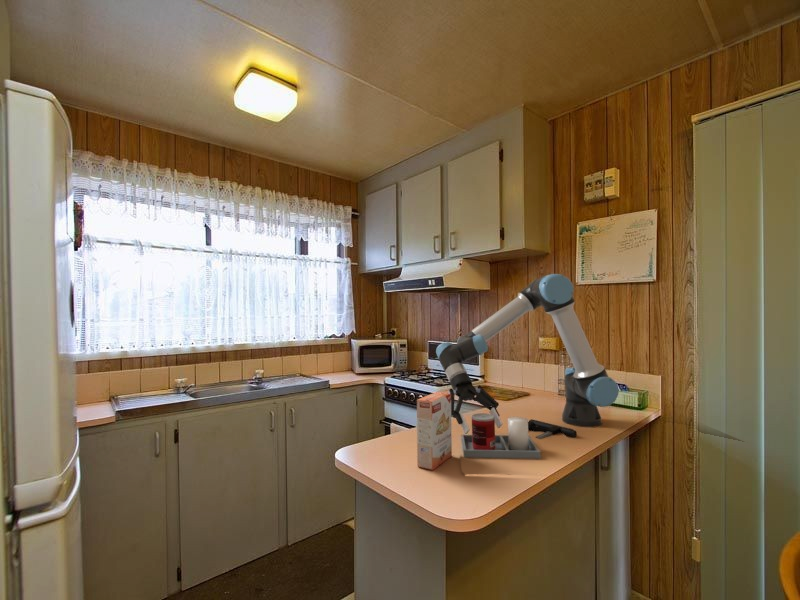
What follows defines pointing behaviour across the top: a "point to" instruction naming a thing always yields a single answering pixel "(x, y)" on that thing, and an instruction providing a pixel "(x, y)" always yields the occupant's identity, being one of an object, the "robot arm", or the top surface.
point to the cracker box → (434, 430)
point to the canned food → (483, 431)
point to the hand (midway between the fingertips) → (484, 429)
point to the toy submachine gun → (549, 429)
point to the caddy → (499, 449)
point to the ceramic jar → (518, 434)
